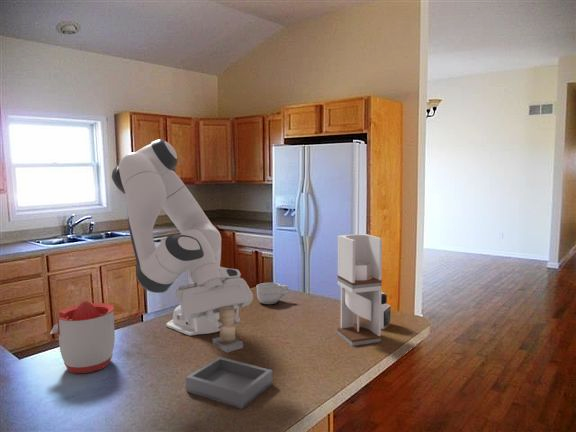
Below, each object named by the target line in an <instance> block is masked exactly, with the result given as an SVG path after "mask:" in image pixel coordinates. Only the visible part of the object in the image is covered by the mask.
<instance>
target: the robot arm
mask: <svg viewBox="0 0 576 432" xmlns="http://www.w3.org/2000/svg"><path fill="white" fill-rule="evenodd" d="M178 160H179V158H178V155H177V151H176V149H175V147H173V146H172V145H171V144H170V143H169V142H168V141H166V140H165V139H162V138H161V139H160V138H159V139H156V140H153V141H151V142H150V143H149V144H147V145H145V146H143V147H142V148H140V149H138V150H137V151H133V152H129V153H127V154H126V155H124V156H123V157H122V158H121V160H120V161H119V164H117V166H115V167H114V168H113V169H112V172H111V173H112V174H111V179H112V181H113V184H114V186H116V188H117V189H118V190H119V191H120V192H122V193H123V194H125V195H126V200H127V210H128V211H127V212H128V216H127V225H128V232H129V236H130V240H131V244H132V248H133V253H134V258H135V263H136V269H135V273H136V275H135V276H136V279H137V281H138V284H139V285H140V286H141V287H142V288H143V289H144V290H146V291H148V292H150V293H155V294H159V293H160V294H161V293H166V292H167V291H168V290H169V288H171V286H172V285H173V284H174V282H175V281H176V279H178V278H179V277H180V276H181V275H182V274H183V272H184V273H185V272H187V273H188V274H189V277H188V278H189V284H187V285H181V286H179V287H178V288H177V289H176V292H175V294H176V297H177V300H178V301H179V305H177V306H176V308H175V309H174V311H173V314H172V319H171V320H169V321H168V322H167V323H166V327H167V328H168V329H171V330H175V331H177V332H179V333H182V334H185V335H186V336H196V335H197V336H198V335H205V334H207V335H208V334H213V333H217V332H220V328H221V327H222V326H223V324H222V322H221V319H219V309H220V308H223V307H233V308H235V325H236V324H239V323H240V322H241V319H240V316H239V311H240V308H243V307H248V306H249V305H250V304H251V303H252V302H253V300H254V295H253V294H254V293H253V292H252V291H251V288H250V287H249V286H250V285H248V283H247V281H246V280H245V279H244V278H242V277H241V275H242V273H241V272H240V270H239V269H236V268H230V267H229V268H228V267H224V266H221V259H222V258H221V257H222V235H221V233H220V231H219V230H218V229H217V228H216V226H214V225H213V224H212V222H211V220H210V219H209V218H208V216H207V215H206V214H205V212H204V210H203V209H202V207H201V206H200V204H199V202H198V201H197V200H196V199H195V197H194V195H193V194H192V193H191V191H190V190H189V189H188V188H187V186H186V185H185V183H184V182H183V180H182V179H181V177H179V176H178V174H177V173H176V166H177V165H178ZM162 210H163V211H164V212H165V214H166V215H167V216H168V218H169V219H170V221H171V222H172V223H173V224H174V226H175V227H176V229H177V230H178V231H179V232H180V233H179V234H178V233H175V234H170V235H168V236H167V237H166V238H165V239H164V240H162V242H161V243H160V244H158V246H157V247H156V243H155V239H154V235H153V234H154V233H153V231H154V227H155V223H156V221H157V219H158V216H159V215H160V212H161V211H162Z"/></svg>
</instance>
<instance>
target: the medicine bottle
mask: <svg viewBox="0 0 576 432" xmlns="http://www.w3.org/2000/svg"><path fill="white" fill-rule="evenodd" d="M387 297H388V295H387V294H386V293H385V292H382V291H381V330H385V329H386V328H387V327H388V326H389V325H390V324H391V304H387V303H388V300H387V299H388V298H387Z"/></svg>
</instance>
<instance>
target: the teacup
mask: <svg viewBox="0 0 576 432" xmlns="http://www.w3.org/2000/svg"><path fill="white" fill-rule="evenodd" d="M283 288H285V289H286V290H285V291H284V292H283V293H282V290H283ZM289 291H290V288H289V287H288V285H286V284H280V283H278V282H263V283H259V284H256V297H257V300H258V301H259V302H261V303H262V304H264V305H273V304H276V303H278V302H279V301H280V300H281V299H282V298H283V297H284V296H285V295H287V294H288V293H289ZM261 303H260V304H261Z"/></svg>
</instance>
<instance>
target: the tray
mask: <svg viewBox="0 0 576 432" xmlns="http://www.w3.org/2000/svg"><path fill="white" fill-rule="evenodd" d="M272 385H273V369H268V368H265V367H261V366H257V365H254V364H250V363H249V364H248V363H246V362H241V361H238V360H233V359H230V358H226V357H222V356H218V357H216V358H214V359H213V360H212V361H210V362H208V363H206V364H205V365H203V366H202V367H200V368H198V369H196V371H193V372H192V373H190V374H188V375H187V376H186V377H185V389H186V392H187V393H191V394H193V395H197V396H198V397H199V396H200V397H203V398H206V399H209V400H213V401H216V402H219V403H222V404H224V405H227V406H230V407H234V408H237V409H240V410H243V409H244V408H246V407H248V405H249V404H250V403H252V402H253V401H254V400H255V399H256V398H258V397H259V396H260V395H261V394H263V393H264V392H265V391H267V390H268V389H269V388H270V387H271V386H272Z"/></svg>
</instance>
